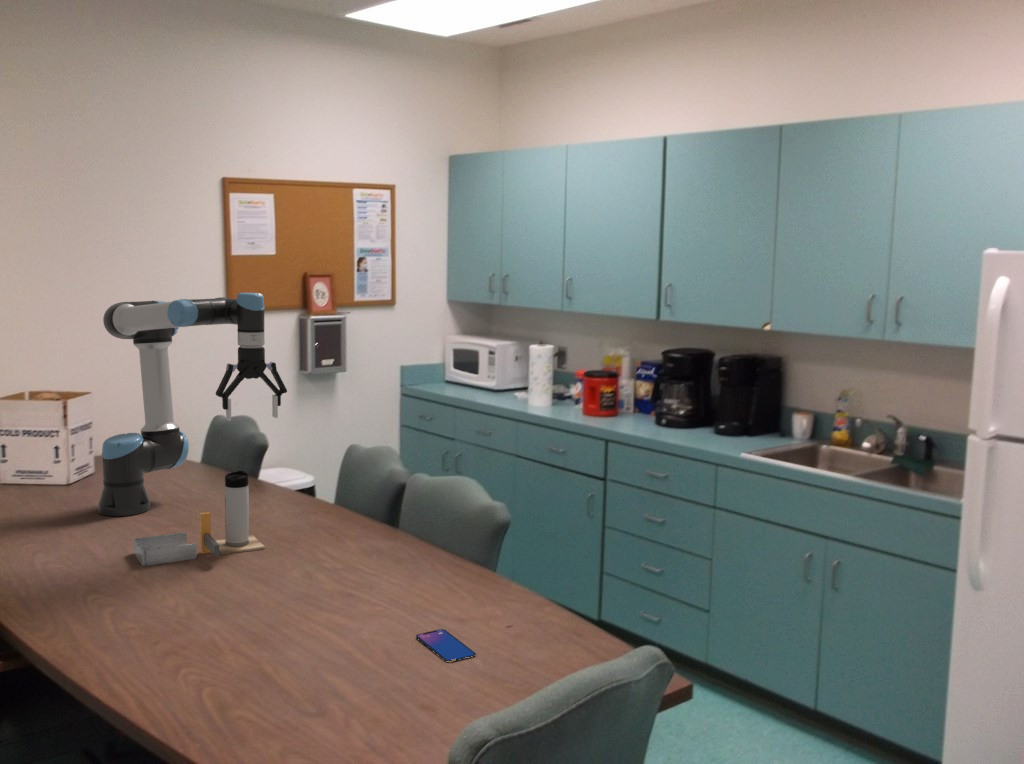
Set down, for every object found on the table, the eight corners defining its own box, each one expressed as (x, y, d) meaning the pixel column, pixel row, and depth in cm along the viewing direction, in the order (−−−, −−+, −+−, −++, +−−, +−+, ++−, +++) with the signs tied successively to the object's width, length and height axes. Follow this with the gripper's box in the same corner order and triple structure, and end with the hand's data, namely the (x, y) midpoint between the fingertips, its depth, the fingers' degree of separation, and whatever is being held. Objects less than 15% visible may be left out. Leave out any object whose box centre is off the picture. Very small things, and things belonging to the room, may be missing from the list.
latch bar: (200, 552, 256) (199, 512, 254) (209, 550, 257) (208, 511, 256) (212, 566, 245) (211, 525, 244) (222, 564, 246) (221, 524, 245)
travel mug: (252, 540, 265) (252, 471, 262) (243, 547, 259) (243, 476, 256) (231, 539, 266) (230, 469, 263) (221, 546, 259) (221, 475, 256)
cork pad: (209, 542, 264) (209, 540, 264) (252, 536, 270) (252, 534, 270) (221, 554, 254) (220, 552, 254) (264, 548, 260) (264, 546, 260)
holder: (134, 553, 254) (133, 538, 253) (185, 546, 261) (185, 532, 260) (142, 566, 244) (142, 551, 243) (196, 558, 251) (195, 544, 250)
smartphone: (447, 662, 191) (413, 634, 203) (447, 666, 191) (413, 638, 204) (478, 654, 195) (443, 628, 207) (478, 658, 195) (443, 631, 207)
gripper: (210, 349, 262) (212, 424, 265) (297, 346, 275) (297, 417, 278) (203, 346, 269) (205, 419, 272) (289, 343, 282) (289, 413, 285)
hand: (252, 418), depth 275 cm, fingers open, 13 cm apart
